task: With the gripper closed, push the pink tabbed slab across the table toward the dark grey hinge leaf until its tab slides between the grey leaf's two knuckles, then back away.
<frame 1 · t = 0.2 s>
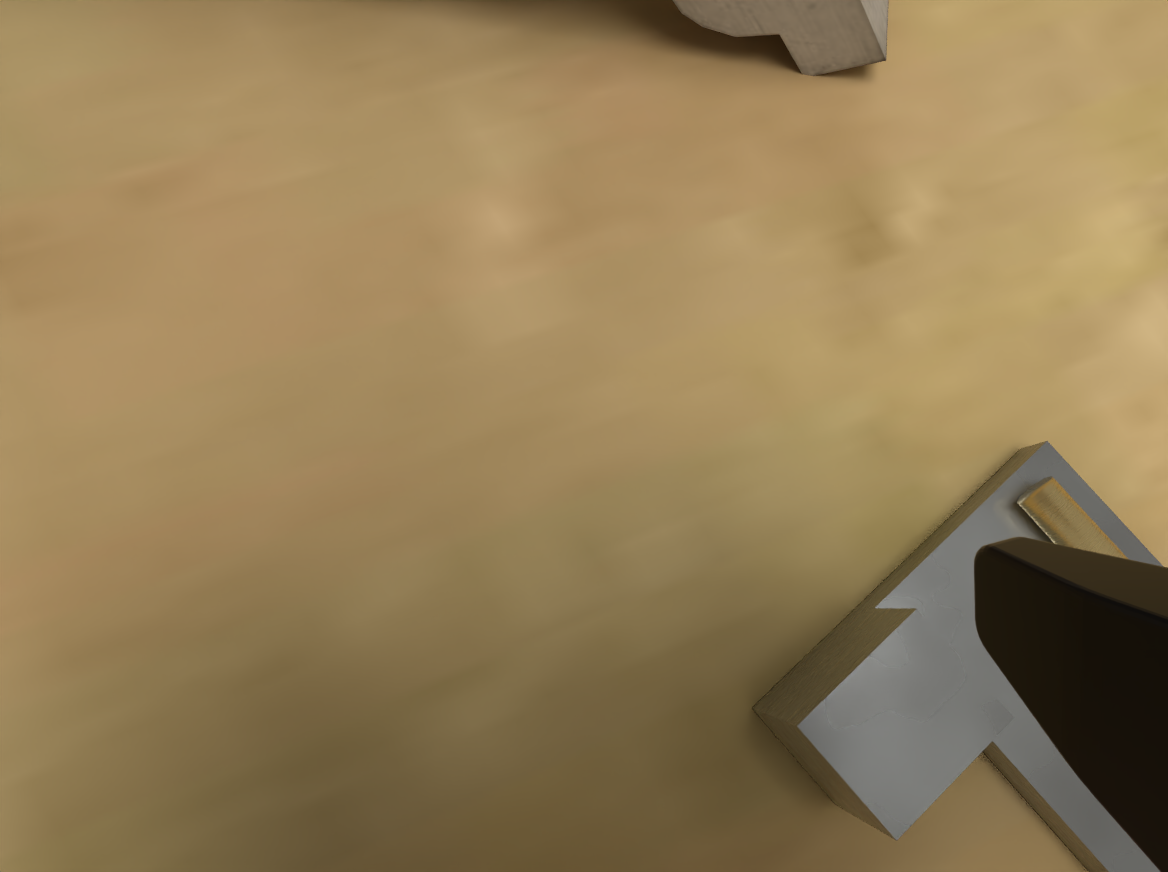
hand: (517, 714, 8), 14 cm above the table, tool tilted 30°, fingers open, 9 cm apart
fixed leaf: (1081, 733, 23), on the table
hinge pin: (1148, 662, 24), resting on fixed leaf
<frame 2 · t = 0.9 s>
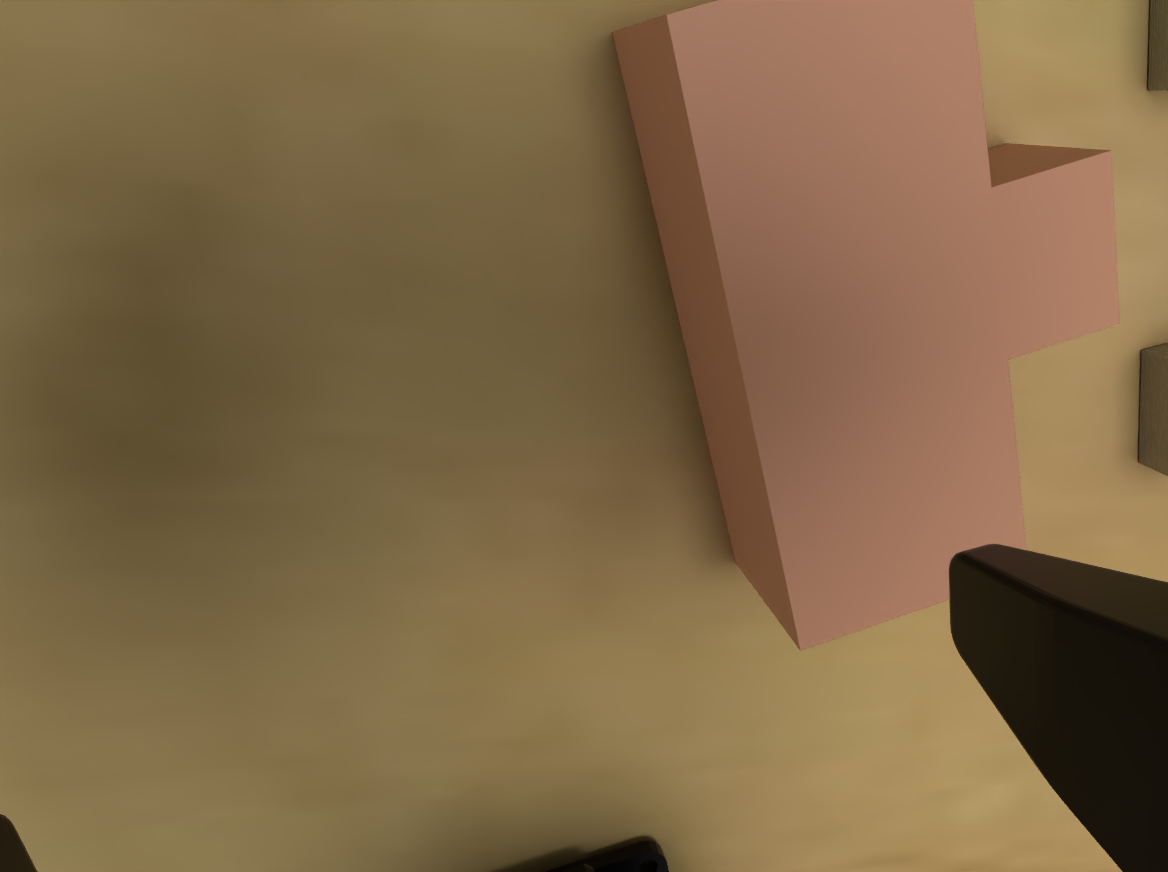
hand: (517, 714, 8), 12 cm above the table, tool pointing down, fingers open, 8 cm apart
pink tabbed slab: (787, 291, 20), on the table
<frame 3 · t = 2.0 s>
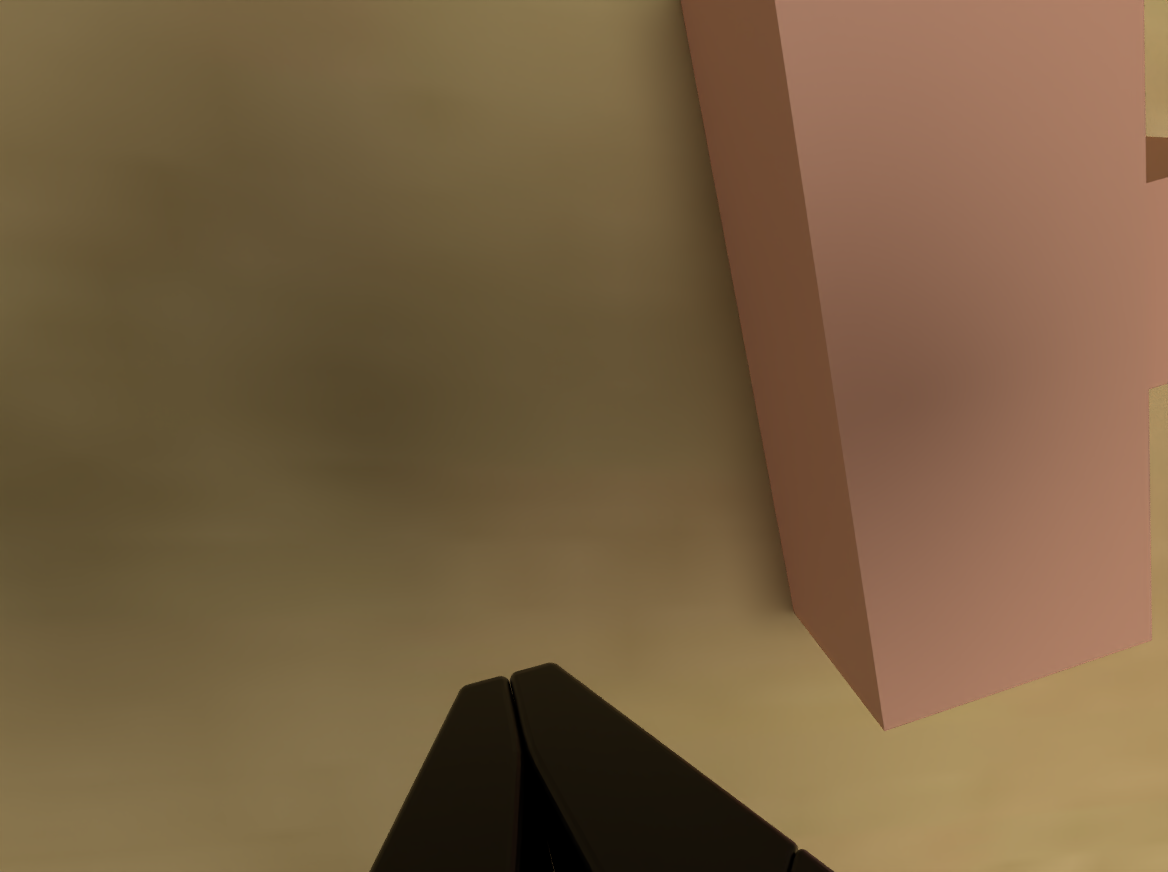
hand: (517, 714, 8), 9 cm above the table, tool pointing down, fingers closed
pink tabbed slab: (868, 303, 18), on the table
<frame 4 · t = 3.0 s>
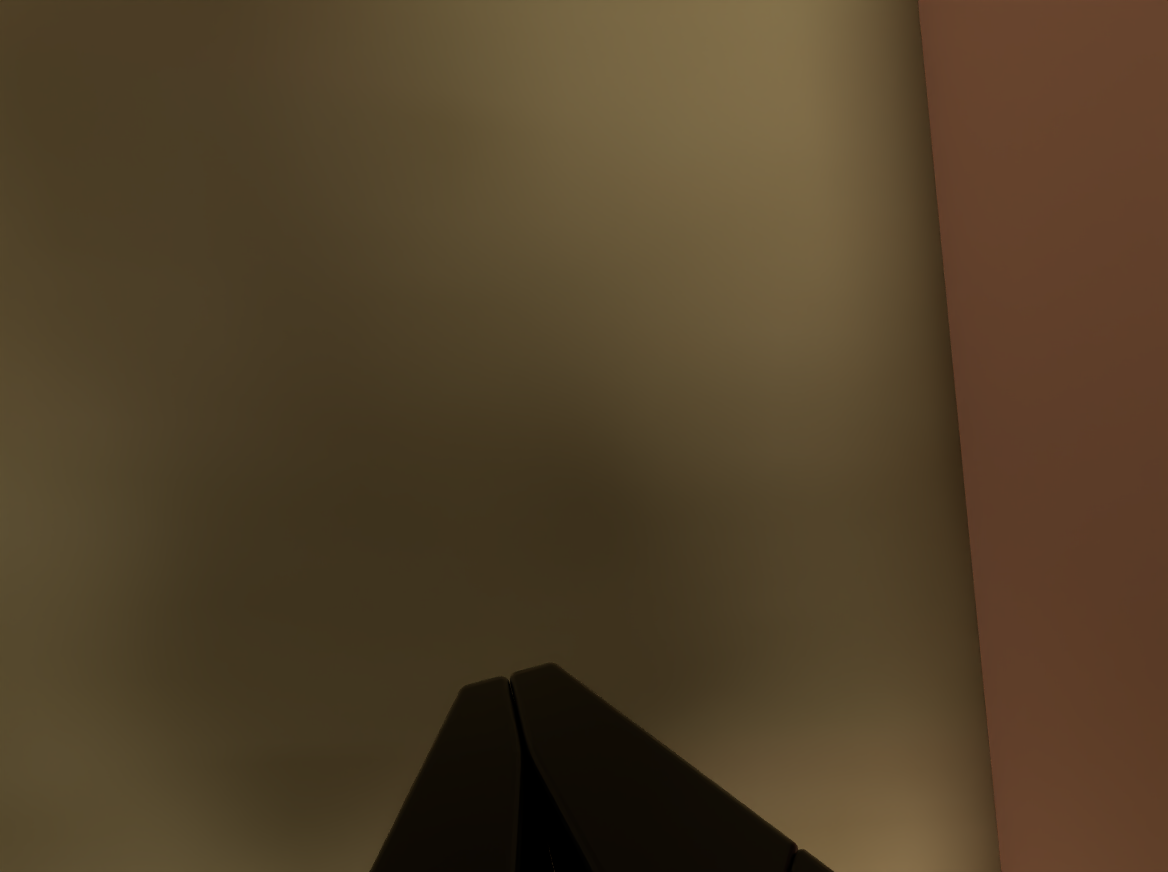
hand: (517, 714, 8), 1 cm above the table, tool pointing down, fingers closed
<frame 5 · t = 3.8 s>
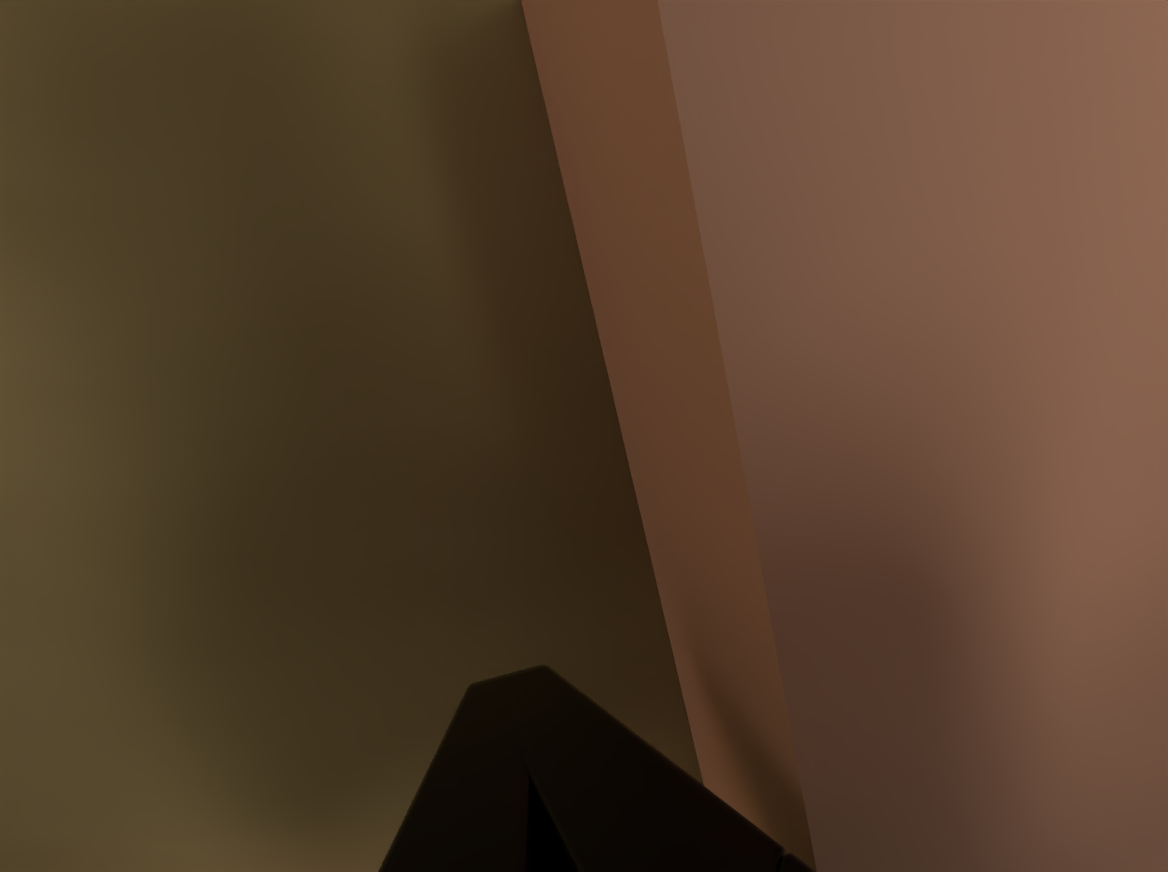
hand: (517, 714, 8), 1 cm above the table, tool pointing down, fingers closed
pink tabbed slab: (883, 543, 10), on the table, touching gripper
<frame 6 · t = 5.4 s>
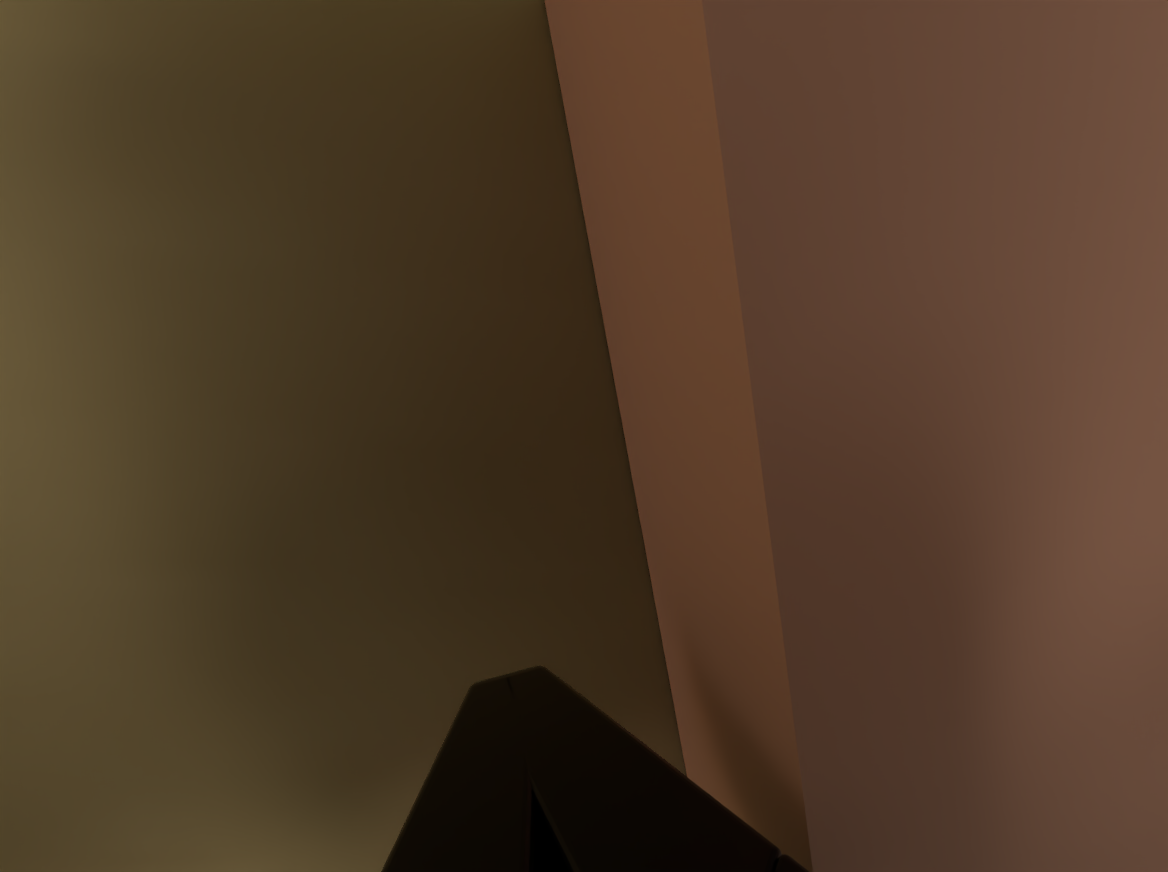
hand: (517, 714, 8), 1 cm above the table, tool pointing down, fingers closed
pink tabbed slab: (880, 555, 10), on the table, touching fixed leaf, gripper
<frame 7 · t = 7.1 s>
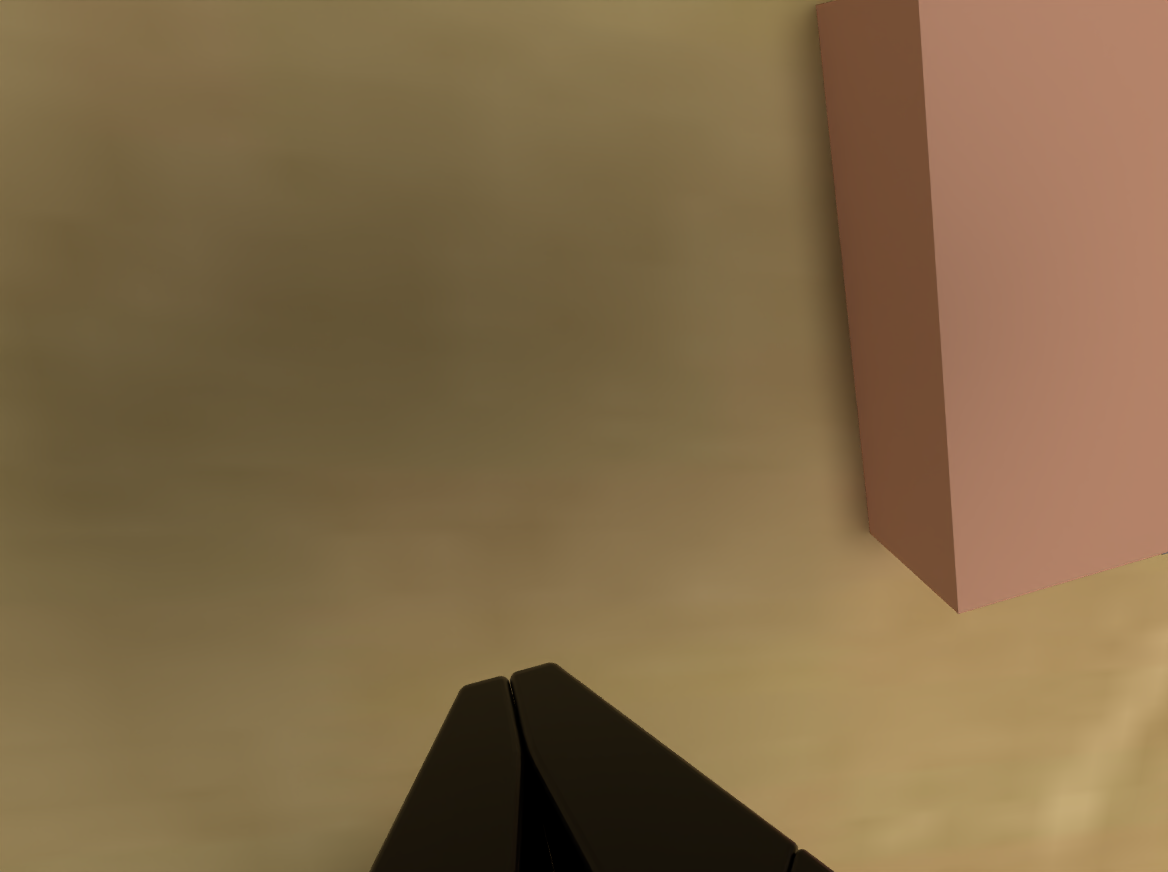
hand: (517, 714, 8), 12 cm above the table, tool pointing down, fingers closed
pink tabbed slab: (947, 269, 21), on the table
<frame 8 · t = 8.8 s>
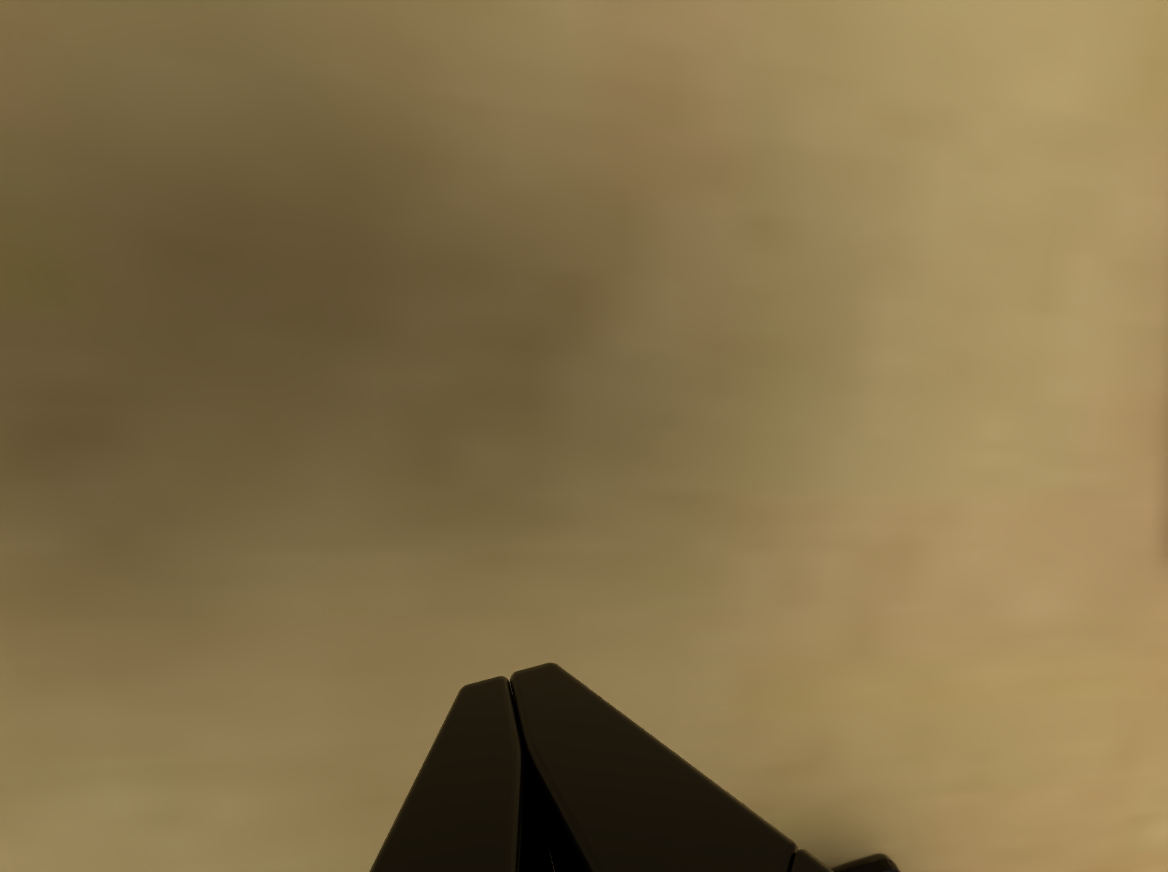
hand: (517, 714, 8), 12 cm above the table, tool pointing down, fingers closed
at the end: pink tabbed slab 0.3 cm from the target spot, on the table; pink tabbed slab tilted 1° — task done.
